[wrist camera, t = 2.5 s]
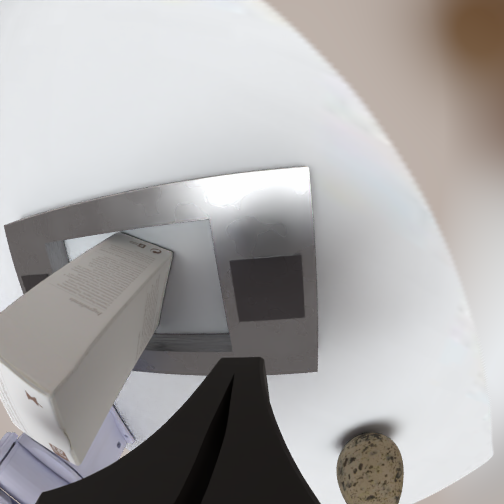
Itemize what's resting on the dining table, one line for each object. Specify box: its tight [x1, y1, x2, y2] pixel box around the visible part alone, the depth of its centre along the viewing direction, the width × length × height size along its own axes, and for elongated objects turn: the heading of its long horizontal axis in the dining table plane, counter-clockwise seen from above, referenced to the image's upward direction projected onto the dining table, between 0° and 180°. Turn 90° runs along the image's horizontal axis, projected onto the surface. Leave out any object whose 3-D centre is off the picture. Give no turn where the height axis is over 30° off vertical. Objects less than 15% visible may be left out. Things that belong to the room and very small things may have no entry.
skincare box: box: [0, 232, 173, 466], centre depth 12 cm, size 6×4×12 cm
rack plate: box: [4, 166, 318, 376], centre depth 17 cm, size 12×22×2 cm, turn 97°
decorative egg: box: [337, 433, 404, 504], centre depth 17 cm, size 6×6×10 cm
